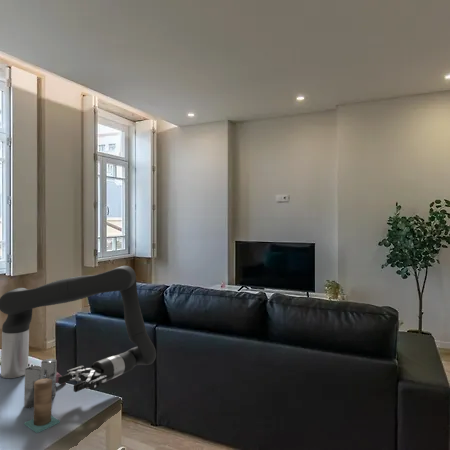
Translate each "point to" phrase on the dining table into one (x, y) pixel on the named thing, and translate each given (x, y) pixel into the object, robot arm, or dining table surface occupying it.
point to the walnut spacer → (42, 401)
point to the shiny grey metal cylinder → (49, 372)
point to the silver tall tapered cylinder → (31, 384)
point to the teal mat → (43, 427)
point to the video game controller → (58, 377)
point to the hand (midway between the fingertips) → (66, 384)
